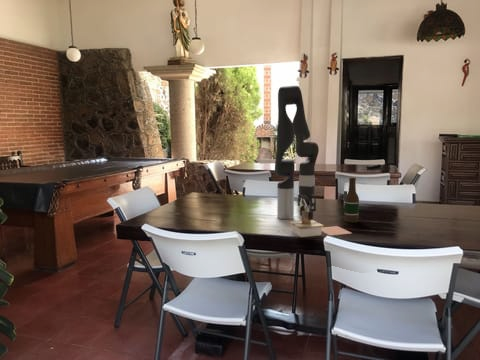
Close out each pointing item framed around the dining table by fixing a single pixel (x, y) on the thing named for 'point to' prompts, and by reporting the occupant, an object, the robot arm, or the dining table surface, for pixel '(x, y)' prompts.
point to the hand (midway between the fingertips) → (306, 217)
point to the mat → (334, 230)
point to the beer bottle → (351, 203)
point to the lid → (306, 222)
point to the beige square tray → (306, 231)
